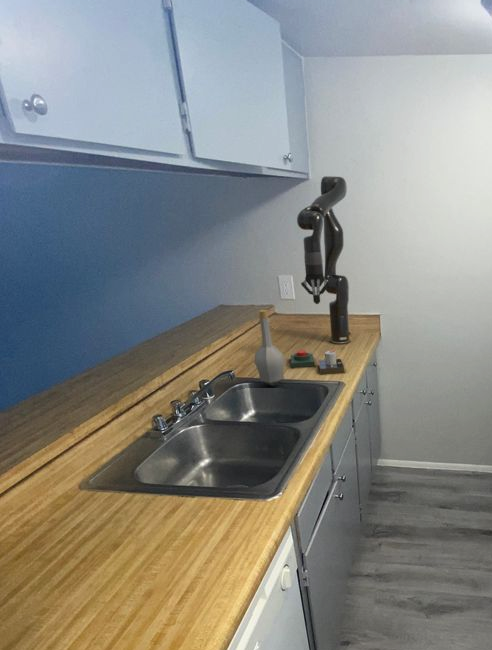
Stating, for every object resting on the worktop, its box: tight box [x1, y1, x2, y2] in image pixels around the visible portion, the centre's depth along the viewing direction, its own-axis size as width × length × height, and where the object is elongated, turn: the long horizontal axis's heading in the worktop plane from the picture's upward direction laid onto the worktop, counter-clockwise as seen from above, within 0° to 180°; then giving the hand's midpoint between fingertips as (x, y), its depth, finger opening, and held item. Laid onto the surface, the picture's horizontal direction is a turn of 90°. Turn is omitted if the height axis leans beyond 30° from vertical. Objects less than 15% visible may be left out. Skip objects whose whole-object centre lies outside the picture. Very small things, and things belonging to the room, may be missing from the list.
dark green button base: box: [290, 352, 315, 369], centre depth 214 cm, size 12×10×4 cm
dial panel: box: [318, 358, 345, 375], centre depth 208 cm, size 12×10×3 cm
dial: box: [324, 350, 337, 365], centre depth 206 cm, size 5×5×5 cm
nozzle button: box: [296, 349, 307, 356], centre depth 213 cm, size 4×4×2 cm
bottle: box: [253, 309, 286, 387], centre depth 182 cm, size 11×11×30 cm
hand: (316, 303), depth 211 cm, fingers closed
